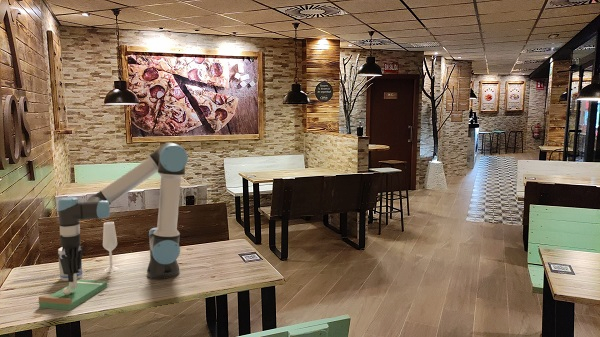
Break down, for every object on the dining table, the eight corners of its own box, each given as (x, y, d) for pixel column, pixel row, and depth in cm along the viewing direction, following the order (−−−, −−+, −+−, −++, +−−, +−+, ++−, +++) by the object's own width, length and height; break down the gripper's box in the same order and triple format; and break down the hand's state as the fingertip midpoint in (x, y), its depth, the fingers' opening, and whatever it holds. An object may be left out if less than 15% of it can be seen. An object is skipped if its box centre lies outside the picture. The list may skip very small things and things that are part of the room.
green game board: (107, 286, 197) (106, 277, 196) (70, 310, 173) (69, 299, 173) (79, 284, 199) (78, 275, 199) (39, 307, 176) (38, 297, 175)
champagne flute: (119, 266, 222) (116, 220, 219) (118, 271, 216) (115, 224, 213) (104, 268, 220) (102, 221, 217) (103, 272, 214) (100, 225, 211)
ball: (73, 294, 183) (73, 286, 184) (67, 296, 180) (68, 288, 180) (66, 293, 184) (66, 286, 184) (60, 295, 181) (61, 287, 181)
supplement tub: (83, 278, 206) (81, 248, 204) (61, 283, 201) (58, 252, 199) (81, 272, 214) (79, 243, 212) (59, 276, 209) (57, 246, 207)
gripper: (73, 229, 190) (76, 281, 193) (50, 238, 177) (54, 293, 180) (88, 230, 188) (91, 283, 191) (66, 239, 176) (70, 295, 179)
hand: (73, 288), depth 186 cm, fingers closed
